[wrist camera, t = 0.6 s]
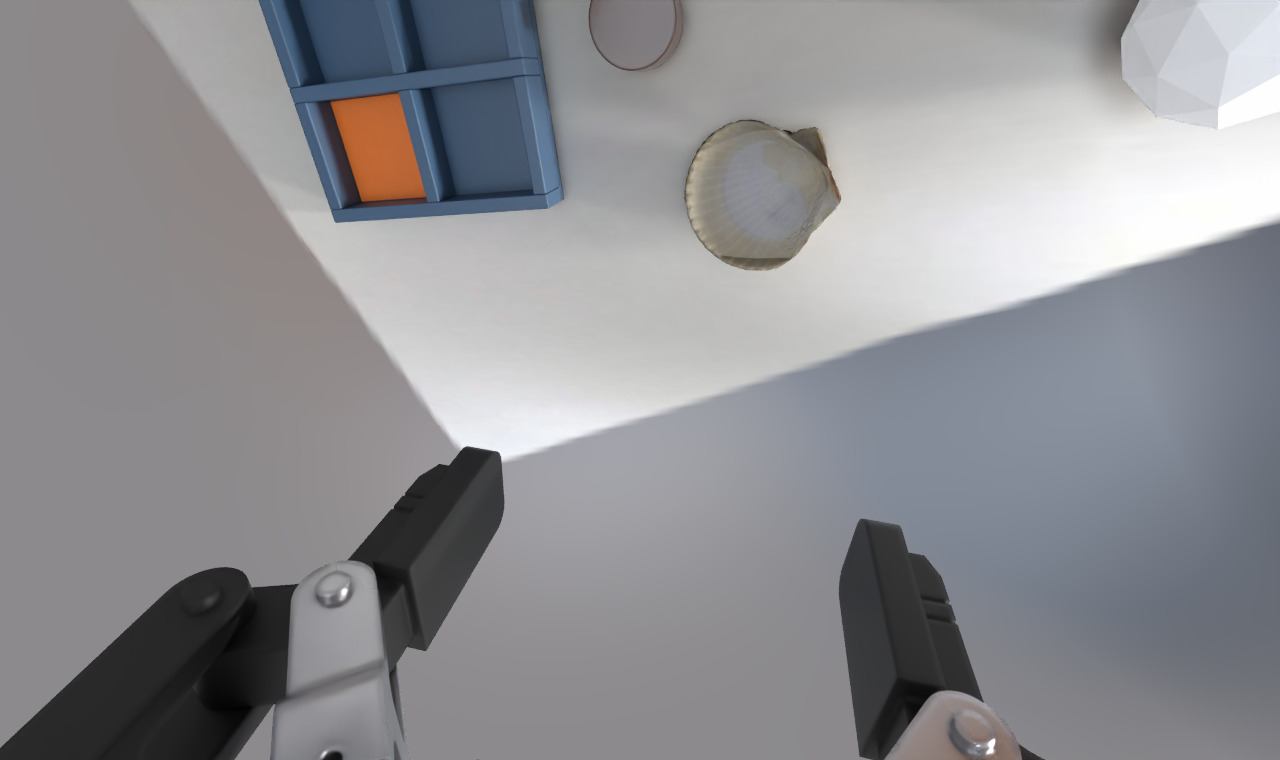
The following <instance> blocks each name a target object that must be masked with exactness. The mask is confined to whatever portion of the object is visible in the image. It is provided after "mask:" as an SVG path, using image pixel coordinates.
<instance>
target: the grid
mask: <svg viewBox="0 0 1280 760" xmlns="http://www.w3.org/2000/svg"><path fill="white" fill-rule="evenodd" d="M259 2H260V5H261V8H262V11H263V14H264V17H265V20H266V23H267V26H268V29H269V32H270V34H271V37H272V40H273V43H274V46H275V49H276V52H277V55H278V58H279V61H280V64H281V66H282V69H283V72H284V75H285V78H286V81H287V84H288V87H289V88H290V92H291V95H292V98H293V101H294V103H296V104H295V107H296V110H297V113H298V116H299V118H300V121H301V124H302V127H303V130H304V133H305V136H306V139H307V142H308V145H309V148H310V150H311V153H312V156H313V159H314V162H315V165H316V168H317V171H318V174H319V177H320V180H321V182H322V185H323V188H324V191H325V194H326V197H327V200H328V203H329V206H330V209H332V210H331V212H332V215H333V218H334V221H335V222H336V223H339V222H354V221H368V220H383V219H398V218H413V217H428V216H443V215H458V214H473V213H488V212H503V211H518V210H533V209H547V208H550V207H551V206H553V205H555V204H556V203H558V202H559V201H561V200H563V199H564V198H563V191H562V185H561V179H560V172H559V166H558V160H557V153H556V147H555V141H554V134H553V128H552V122H551V115H550V109H549V103H548V96H547V90H546V83H545V77H544V71H543V64H542V58H541V52H540V45H539V39H538V33H537V26H536V20H535V14H534V7H533V1H532V0H259Z"/></svg>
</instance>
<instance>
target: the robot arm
mask: <svg viewBox="0 0 1280 760" xmlns="http://www.w3.org/2000/svg"><path fill="white" fill-rule="evenodd" d="M503 511H504V490H503V477H502V464H501V456H500V454H499V452H496V451H491V450H485V449H480V448H474V447H469V446H467V447H464V448H463V449H462V450H461V451H460V453H459V454H458V455H457V457H456V458H455V459H454V460H453V461H452V463H451V464H450V465H449V466H447V465H442V464H439V465H437V466H436V467H434V468H432V469H431V470H429V471H428V472H426V473H424V474H423V475H421V476H419V477H418V479H417V480H416V481H415V482H414V483H413V485H412V486H411V487H410V488H409V489H408V490H407V492H406V493H405V496H402V497H401V498H400V500H399V501H398V502H397V503H396V504H395V506H394V509H391V510H390V511H389V512H388V514H387V515H386V516H385V517H384V518H383V519H382V521H381V522H380V523H379V524H378V525H377V527H376V528H375V529H374V530H373V531H372V532H371V534H370V535H369V536H368V537H367V538H366V539H365V541H364V542H363V543H362V544H361V545H360V546H359V548H358V549H357V550H356V551H355V552H354V553H353V555H352V556H351V557H350V558H349V559H348V560H347V561H339V562H334V563H331V564H328V565H325V566H323V567H321V568H319V569H317V570H315V571H314V572H312V573H311V574H310V575H308V576H307V577H306V578H305V579H303V580H302V581H301V583H300V584H295V585H280V586H268V587H253V588H251V585H250V583H249V580H248V578H247V576H246V575H245V574H244V573H243V572H242V571H240V570H238V569H235V568H228V567H223V568H222V567H221V568H214V569H209V570H205V571H202V572H199V573H196V574H194V575H192V576H189V577H187V578H185V579H184V580H182V581H180V582H179V583H177V584H176V585H174V586H173V587H172V588H170V589H169V590H168V591H167V592H166V593H165V594H164V595H163V596H162V597H161V598H159V599H158V600H157V601H156V602H155V603H154V604H153V605H152V606H151V607H150V608H149V609H148V610H147V611H146V612H144V613H143V615H141V616H140V617H139V618H138V619H137V620H136V621H135V622H134V623H133V624H132V625H131V626H130V627H129V628H127V629H126V630H125V631H124V632H123V633H122V634H121V635H120V636H119V637H118V638H117V639H116V640H115V641H114V642H113V643H112V644H110V646H108V647H107V648H106V649H105V650H104V651H103V652H102V653H101V654H100V655H99V656H98V657H97V658H96V659H94V660H93V661H92V662H91V663H90V664H89V665H88V666H87V667H86V668H85V669H84V670H83V671H82V672H81V673H80V674H78V675H77V676H76V677H75V678H74V679H73V680H72V681H71V682H70V683H69V684H68V685H67V686H66V687H65V688H64V689H63V690H61V691H60V692H59V693H58V694H57V695H56V696H55V697H54V698H53V699H52V700H51V701H50V702H49V703H48V704H47V705H46V706H44V707H43V708H42V709H41V710H40V711H39V712H38V713H37V714H36V715H35V716H34V717H33V718H32V719H31V720H30V721H29V722H27V724H25V725H24V726H23V727H22V728H21V729H20V730H19V731H18V732H17V733H16V734H15V735H14V736H12V738H10V739H9V740H8V741H7V742H6V743H5V744H4V745H3V746H2V747H1V748H0V760H234V759H235V758H236V757H237V755H238V754H239V752H240V751H241V750H242V748H243V746H244V745H245V744H246V742H247V741H248V740H249V738H250V737H251V735H252V734H253V733H254V731H255V730H256V728H257V727H258V726H259V724H260V723H261V721H262V720H263V719H264V717H265V716H266V714H267V713H268V712H269V710H270V709H271V707H272V706H273V704H276V705H275V708H274V715H273V727H272V741H271V755H270V760H410V759H409V752H408V744H407V736H406V728H405V719H404V711H403V703H402V696H401V687H400V678H399V670H398V665H397V662H398V660H399V659H400V657H401V656H402V654H403V653H404V651H405V649H406V648H407V647H410V648H414V649H419V650H423V651H426V650H427V649H428V647H429V645H430V643H431V642H432V640H433V638H434V637H435V635H436V633H437V631H438V630H439V628H440V626H441V625H442V623H443V621H444V620H445V618H446V616H447V615H448V613H449V611H450V609H451V608H452V606H453V604H454V603H455V601H456V599H457V598H458V596H459V594H460V592H461V591H462V589H463V587H464V586H465V584H466V582H467V580H468V579H469V577H470V575H471V574H472V572H473V570H474V569H475V567H476V565H477V564H478V562H479V560H480V558H481V557H482V555H483V553H484V552H485V550H486V548H487V547H488V545H489V543H490V541H491V540H492V538H493V536H494V535H495V533H496V531H497V529H498V528H499V525H500V523H501V520H502V516H503ZM839 600H840V608H841V616H842V624H843V631H844V639H845V647H846V654H847V661H848V670H849V677H850V685H851V693H852V701H853V708H854V717H855V723H856V731H857V740H858V747H859V755H860V757H864V758H868V759H872V760H1044V759H1042V758H1040V757H1038V756H1036V755H1035V754H1033V753H1031V752H1030V751H1028V750H1027V749H1025V748H1024V747H1022V746H1021V745H1019V744H1018V742H1017V740H1016V738H1015V736H1014V734H1013V732H1012V731H1011V729H1010V728H1009V726H1008V725H1007V724H1006V723H1005V721H1004V720H1003V719H1002V718H1001V717H1000V716H999V715H998V714H997V713H996V712H995V711H994V710H992V709H991V708H990V707H989V706H987V705H986V704H984V701H983V699H982V696H981V693H980V690H979V687H978V685H977V681H976V678H975V676H974V673H973V670H972V667H971V664H970V661H969V658H968V655H967V652H966V649H965V646H964V643H963V640H962V637H961V634H960V631H959V628H958V625H956V623H955V621H956V619H955V616H954V613H953V610H952V607H951V605H949V598H948V595H947V592H946V589H945V586H944V583H943V580H942V577H941V576H940V575H939V574H938V572H937V571H936V570H935V568H934V567H933V566H932V565H931V563H930V562H929V561H928V560H927V558H926V557H925V556H924V555H919V554H913V553H908V550H907V546H906V543H905V539H904V536H903V532H902V529H901V527H900V526H899V525H895V524H889V523H884V522H878V521H872V520H867V519H860V520H859V522H858V524H857V527H856V529H855V532H854V535H853V538H852V541H851V544H850V547H849V550H848V553H847V556H846V558H845V561H844V564H843V567H842V571H841V575H840V583H839Z"/></svg>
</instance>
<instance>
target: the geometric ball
mask: <svg viewBox="0 0 1280 760" xmlns="http://www.w3.org/2000/svg"><path fill="white" fill-rule="evenodd" d="M1121 56H1122V78H1123V80H1124V81H1125V82H1126V83H1127V84H1128V85H1129V87H1130V88H1131V89H1132V90H1133V91H1134V93H1135V94H1136V95H1137V96H1138V97H1139V98H1140V99H1141V100H1142V102H1143V103H1144V104H1145V105H1146V106H1147V107H1148V108H1149V109H1150V111H1151V112H1152V113H1153V114H1154V115H1155V116H1156V117H1159V118H1164V119H1169V120H1174V121H1179V122H1183V123H1188V124H1193V125H1198V126H1203V127H1208V128H1213V129H1221V128H1225V127H1228V126H1231V125H1235V124H1238V123H1241V122H1245V121H1248V120H1252V119H1255V118H1258V117H1262V116H1265V115H1268V114H1272V113H1275V112H1278V111H1280V0H1139V2H1138V4H1137V7H1136V9H1135V11H1134V13H1133V15H1132V17H1131V19H1130V21H1129V23H1128V25H1127V27H1126V29H1125V31H1124V33H1123V35H1122V38H1121Z"/></svg>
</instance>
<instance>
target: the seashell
mask: <svg viewBox="0 0 1280 760" xmlns="http://www.w3.org/2000/svg"><path fill="white" fill-rule="evenodd" d="M684 192H685V201H686V205H687V213H688V217H689V220H690V223H691V226H692V229H693V230H694V232H695V233H696V235H697V237H698V239H699V240H700V241H701V242H702V244H703V245H704V247H705V248H706V249H708V250H709V251H710V252H711V253H712V254H713V255H715V256H716V257H717V258H719V259H721V260H722V261H723V262H725V263H727V264H730V265H732V266H735V267H738V268H742V269H745V270H771V269H775V268H778V267H780V266H782V265H783V264H785V263H786V262H788V261H789V260H791V259H792V258H793V257H795V256H796V255H797V253H798V252H799V251H800V250H801V248H802V247H803V246H804V244H805V243H806V242H807V240H808V238H809V236H810V234H811V233H812V232H813V231H814V230H816V229H817V228H818V227H819V226H820V225H821V224H822V223H823V221H824V220H825V219H826V218H827V217H828V216H829V215H831V214H832V212H833V211H835V210H836V208H837V206H838V205H839V204H840V201H841V196H840V193H839V190H838V188H837V186H836V183H835V181H834V179H833V176H832V172H831V170H830V166H829V165H828V162H827V156H826V149H825V145H824V141H823V137H822V134H821V132H820V130H819V129H818V128H816V127H813V128H810V129H805V128H804V129H801V130H798V131H797V132H794V133H792V132H791V131H787V130H780V129H778V128H776V127H772V126H770V125H768V124H767V125H766V124H765V123H763V122H760V121H756V120H740V121H737V122H735V123H729V124H727V125H725V126H723V127H722V128H720V129H718V130H717V131H715V132H714V133H712V134H711V135H710V136H708V138H707V139H706V141H704V142H703V143H702V145H701V147H700V148H699V149H698V151H697V152H696V155H695V157H694V159H693V161H692V164H691V166H690V168H689V171H688V176H687V179H686V189H685V191H684Z"/></svg>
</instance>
